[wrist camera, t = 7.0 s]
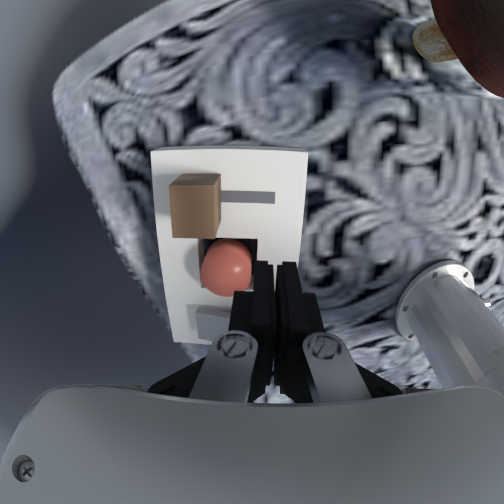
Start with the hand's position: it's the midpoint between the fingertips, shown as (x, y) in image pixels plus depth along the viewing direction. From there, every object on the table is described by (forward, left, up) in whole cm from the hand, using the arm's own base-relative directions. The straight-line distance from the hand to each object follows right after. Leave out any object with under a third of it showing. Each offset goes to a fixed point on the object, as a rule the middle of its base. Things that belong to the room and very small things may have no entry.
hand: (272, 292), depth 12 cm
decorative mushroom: (-15, -17, -17) cm, 28 cm away
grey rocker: (+3, +13, -13) cm, 18 cm away
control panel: (+3, +6, -17) cm, 18 cm away
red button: (+3, +6, -14) cm, 15 cm away
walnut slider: (+5, 0, -14) cm, 15 cm away
